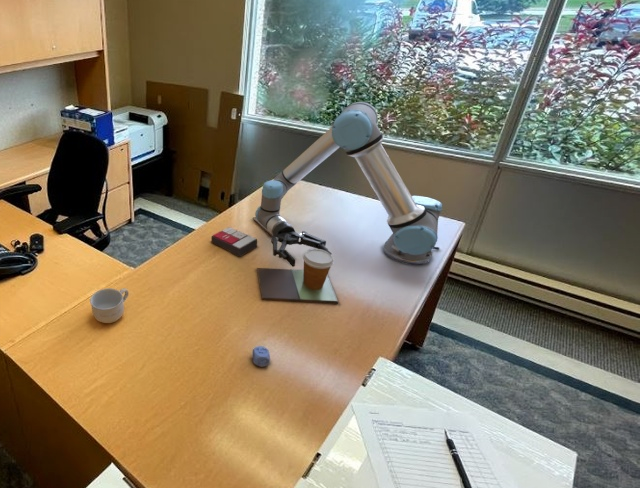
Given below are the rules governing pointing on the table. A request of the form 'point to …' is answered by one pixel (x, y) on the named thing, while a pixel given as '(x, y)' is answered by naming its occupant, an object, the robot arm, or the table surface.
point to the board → (292, 287)
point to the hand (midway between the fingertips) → (312, 260)
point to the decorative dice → (261, 356)
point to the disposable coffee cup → (316, 268)
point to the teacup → (108, 304)
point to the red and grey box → (234, 241)
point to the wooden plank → (261, 225)
